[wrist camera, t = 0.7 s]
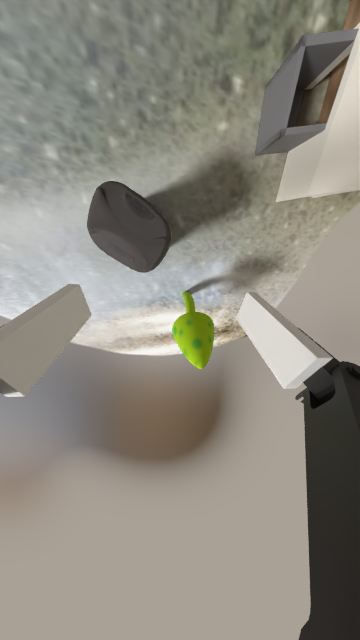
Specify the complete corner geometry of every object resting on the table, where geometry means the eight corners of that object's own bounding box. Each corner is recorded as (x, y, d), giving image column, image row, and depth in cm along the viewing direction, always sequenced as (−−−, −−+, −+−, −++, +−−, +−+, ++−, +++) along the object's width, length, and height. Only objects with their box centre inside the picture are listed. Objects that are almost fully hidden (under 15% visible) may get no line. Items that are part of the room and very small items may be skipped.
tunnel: (266, 82, 20) (312, 16, 13) (367, 70, 20) (462, -4, 13) (246, 205, 28) (269, 200, 22) (317, 197, 28) (361, 189, 22)
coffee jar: (176, 225, 30) (184, 230, 15) (159, 257, 33) (151, 287, 18) (135, 191, 26) (89, 151, 11) (121, 231, 30) (72, 242, 15)
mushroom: (169, 305, 41) (169, 383, 21) (173, 278, 37) (178, 348, 17) (195, 308, 43) (218, 384, 23) (202, 283, 38) (239, 352, 18)
